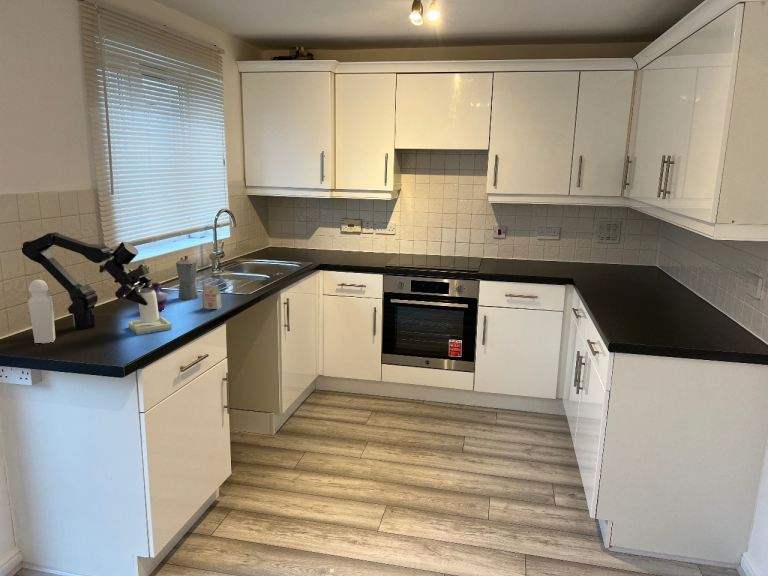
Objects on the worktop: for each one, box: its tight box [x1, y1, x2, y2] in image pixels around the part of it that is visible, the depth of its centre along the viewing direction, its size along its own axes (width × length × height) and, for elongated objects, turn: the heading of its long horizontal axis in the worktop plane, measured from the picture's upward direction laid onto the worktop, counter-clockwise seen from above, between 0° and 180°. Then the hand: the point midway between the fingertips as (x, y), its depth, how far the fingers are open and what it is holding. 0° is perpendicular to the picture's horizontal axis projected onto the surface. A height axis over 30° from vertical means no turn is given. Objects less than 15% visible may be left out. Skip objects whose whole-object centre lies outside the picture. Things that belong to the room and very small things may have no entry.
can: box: [137, 287, 160, 323], centre depth 213 cm, size 6×6×12 cm
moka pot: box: [175, 255, 200, 301], centre depth 262 cm, size 10×15×20 cm, turn 41°
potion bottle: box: [150, 281, 169, 312], centre depth 240 cm, size 9×9×12 cm
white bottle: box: [27, 279, 56, 344], centre depth 196 cm, size 6×6×22 cm
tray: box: [128, 316, 173, 336], centre depth 215 cm, size 12×12×2 cm
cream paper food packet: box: [201, 284, 223, 310], centre depth 244 cm, size 4×7×10 cm, turn 75°
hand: (151, 302), depth 213 cm, fingers closed on can, 6 cm apart
